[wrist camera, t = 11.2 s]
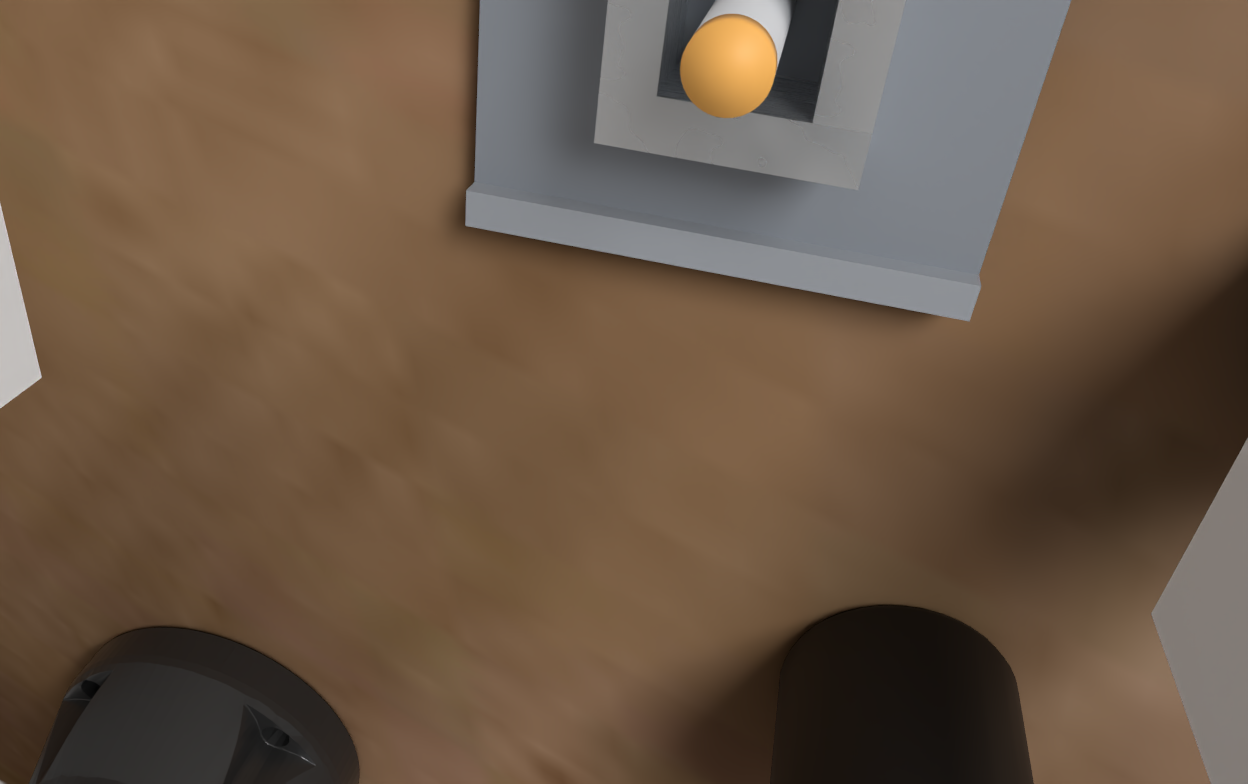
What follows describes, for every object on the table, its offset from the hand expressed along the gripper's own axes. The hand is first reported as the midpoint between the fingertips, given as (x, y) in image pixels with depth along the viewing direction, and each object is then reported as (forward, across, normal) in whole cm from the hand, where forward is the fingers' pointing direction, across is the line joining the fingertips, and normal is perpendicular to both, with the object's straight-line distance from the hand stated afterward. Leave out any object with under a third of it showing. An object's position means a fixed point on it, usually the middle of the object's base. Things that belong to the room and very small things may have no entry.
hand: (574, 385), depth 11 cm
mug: (+22, +10, -27) cm, 36 cm away
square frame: (+21, 0, 0) cm, 21 cm away
